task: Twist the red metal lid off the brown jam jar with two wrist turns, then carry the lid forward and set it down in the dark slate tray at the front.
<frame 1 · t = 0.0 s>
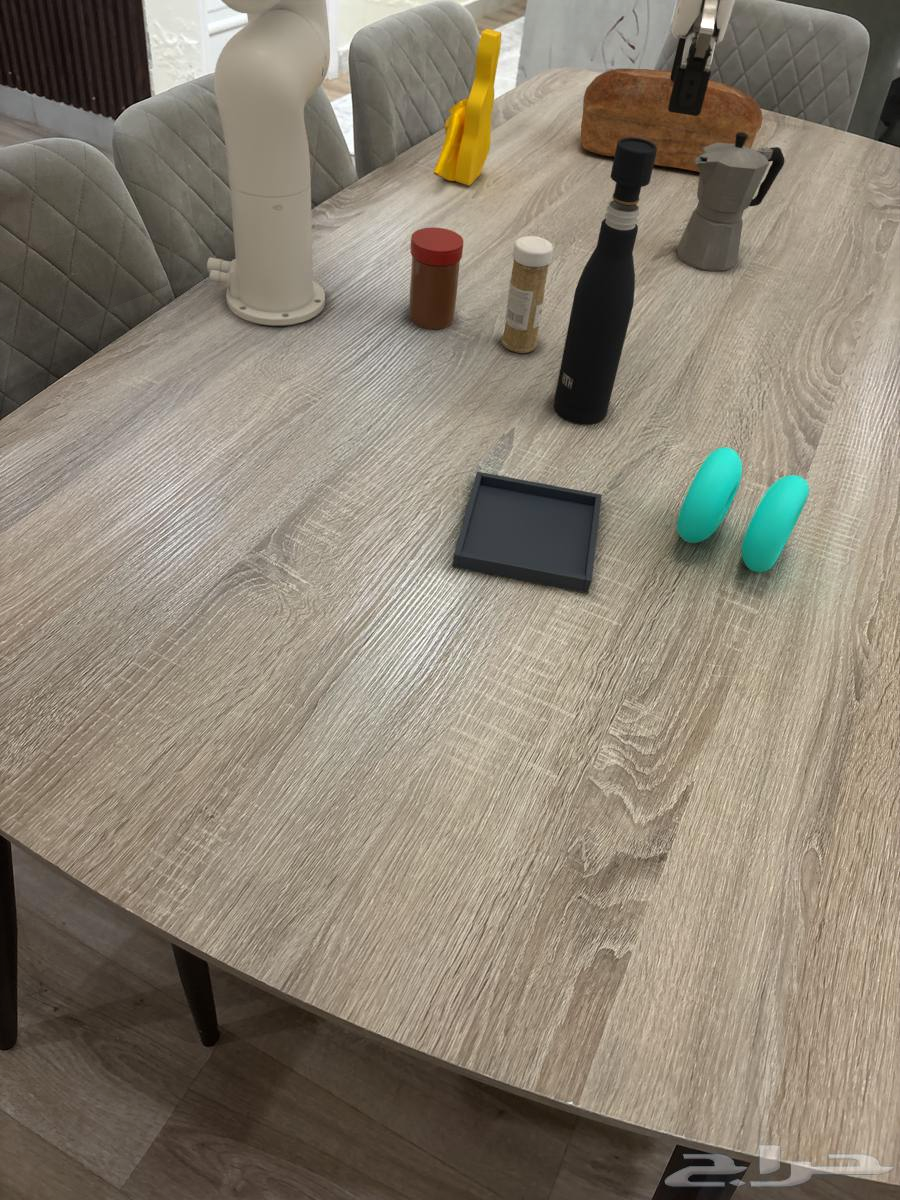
hand: (684, 97, 97), 31 cm above the table, tool pointing down, fingers open, 9 cm apart
spice jar: (518, 346, 120), on the table
slate tray: (528, 535, 94), on the table
bread: (660, 159, 169), on the table
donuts: (726, 548, 96), on the table
black bottle: (579, 410, 111), on the table
jam jar: (431, 317, 123), on the table
coffeepot: (711, 258, 143), on the table
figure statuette: (463, 179, 155), on the table
jar lid: (437, 242, 115), point 10 cm above the table, screwed on, not yet turned
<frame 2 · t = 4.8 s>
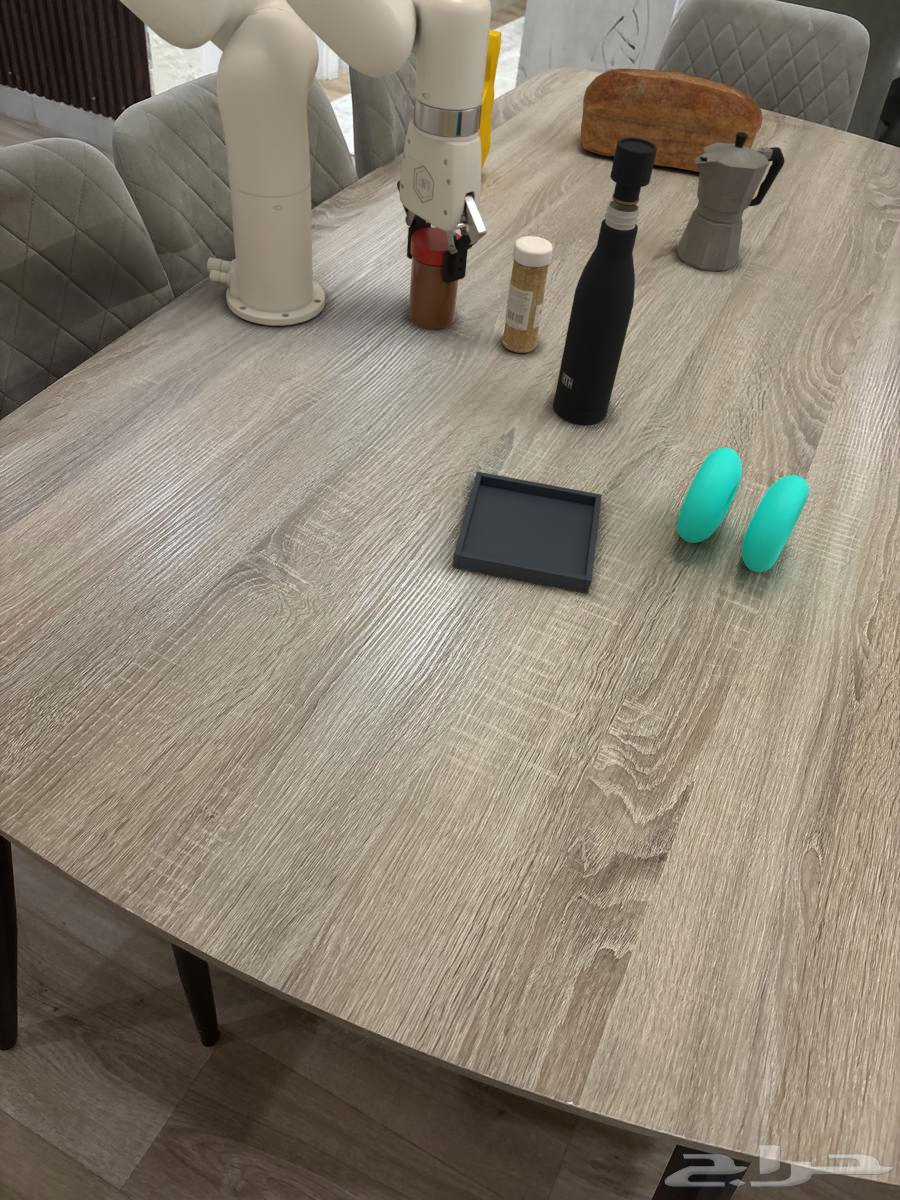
hand: (435, 266, 118), 7 cm above the table, tool pointing down, fingers closed on jar lid, 6 cm apart
jar lid: (437, 242, 115), point 10 cm above the table, screwed on, not yet turned, touching gripper
everything else where it was.
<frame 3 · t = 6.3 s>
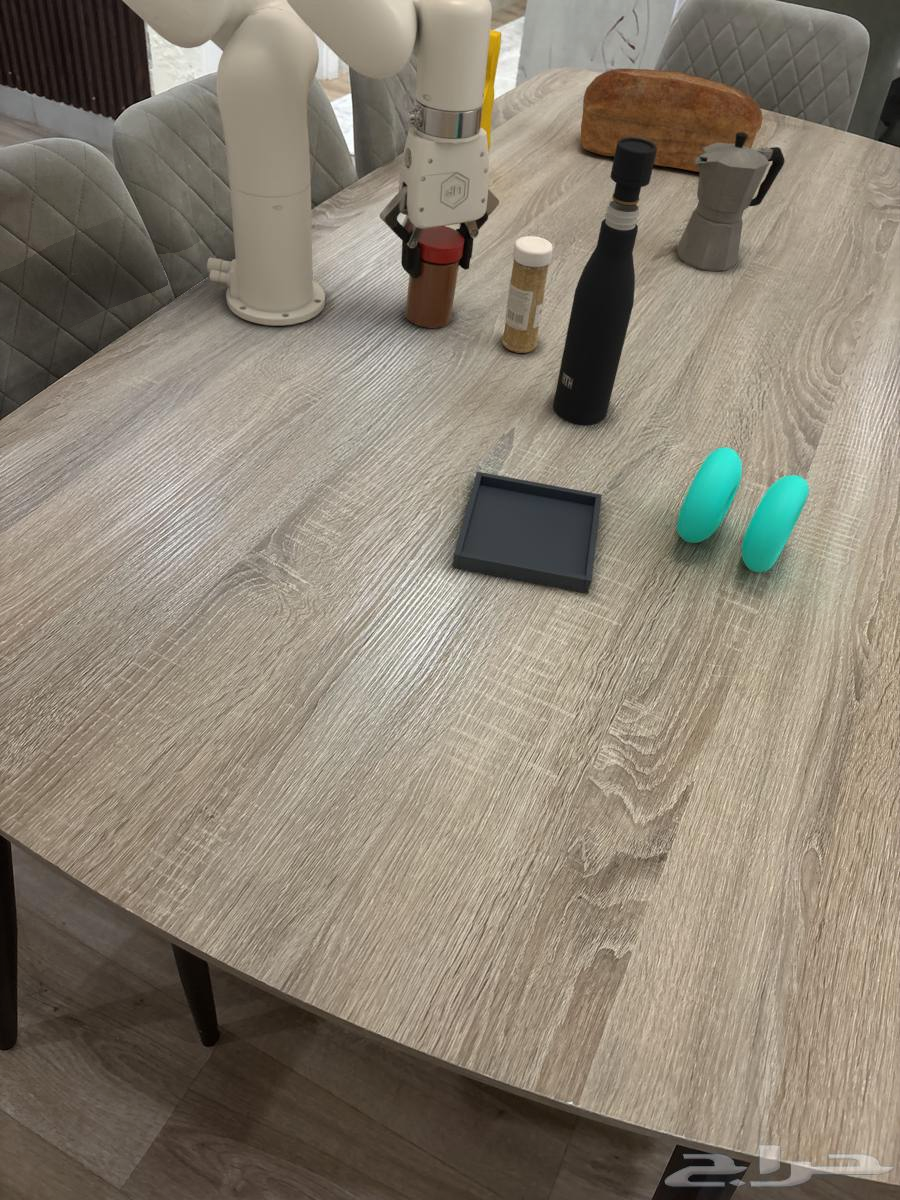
hand: (436, 267, 118), 7 cm above the table, tool pointing down, fingers closed on jar lid, 6 cm apart
jam jar: (428, 316, 123), on the table, touching gripper
jar lid: (438, 239, 115), point 11 cm above the table, turned 79° so far, risen 0.2 cm, still on its thread, touching gripper
everything else where it was.
when the fingers open (6 cm above the table, at t = 7.0 s): jar lid stays where it is, point 10 cm above the table.
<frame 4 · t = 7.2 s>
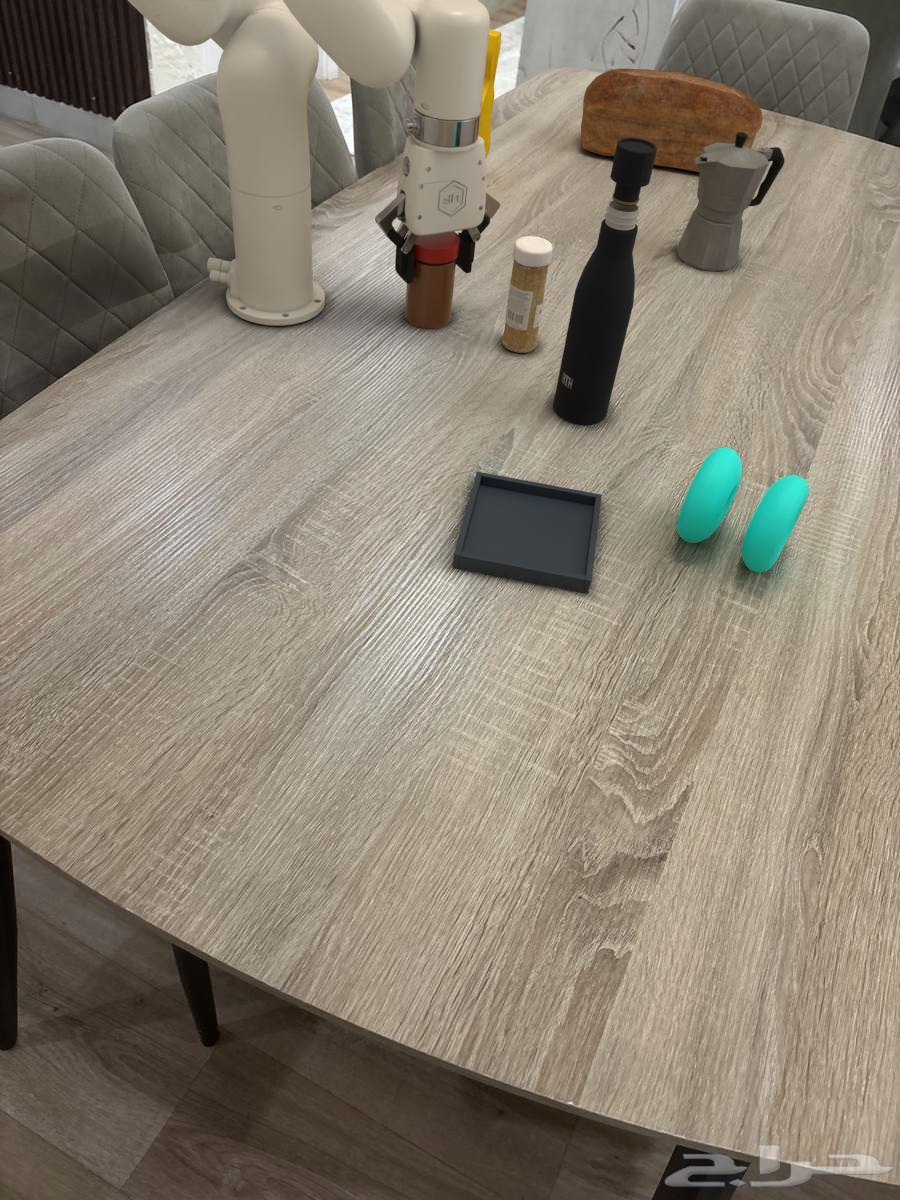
hand: (434, 272, 118), 6 cm above the table, tool pointing down, fingers open, 7 cm apart
jam jar: (427, 317, 123), on the table
jar lid: (433, 239, 115), point 10 cm above the table, turned 79° so far, risen 0.2 cm, still on its thread
everything else where it was.
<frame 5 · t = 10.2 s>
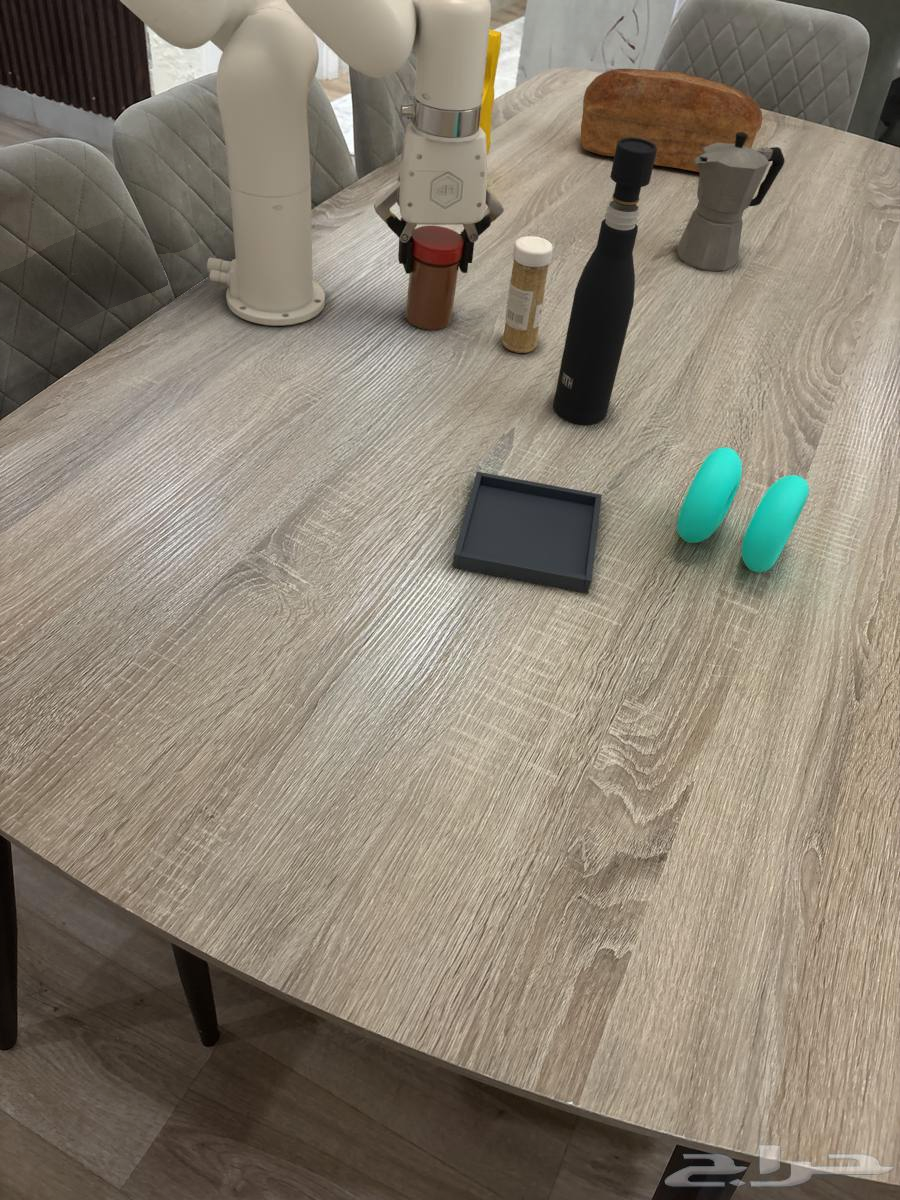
hand: (434, 267, 118), 7 cm above the table, tool pointing down, fingers closed on jar lid, 6 cm apart
jam jar: (428, 317, 122), on the table, touching gripper
jar lid: (437, 240, 115), point 11 cm above the table, off its thread, touching gripper
everything else where it was.
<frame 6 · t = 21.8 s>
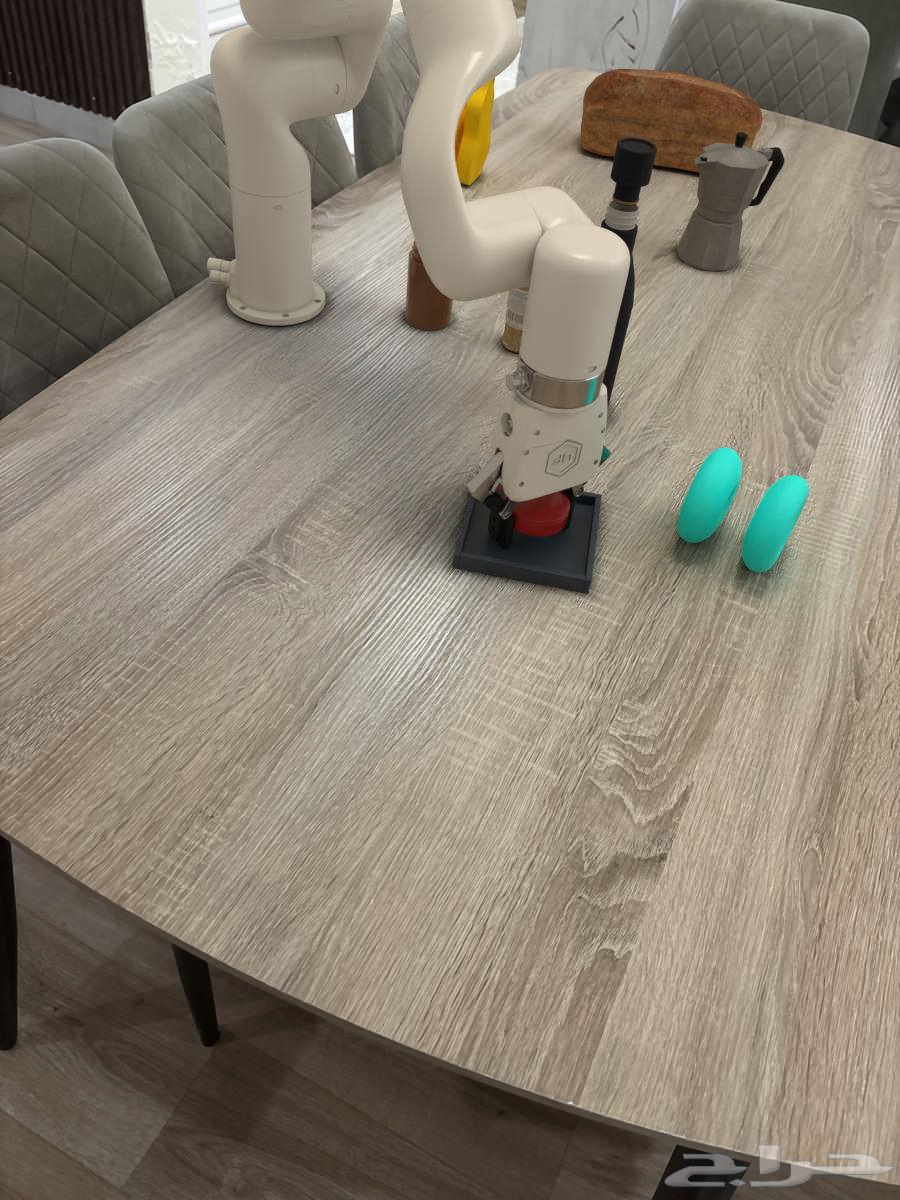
hand: (529, 528, 94), 1 cm above the table, tool pointing down, fingers closed on jar lid, 6 cm apart
jam jar: (428, 318, 123), on the table
jar lid: (536, 503, 91), point 4 cm above the table, off its thread, touching gripper
everything else where it was.
when the fingers open (2 cm above the table, at t = 27.6 s): jar lid drops 3 cm, resting on slate tray.
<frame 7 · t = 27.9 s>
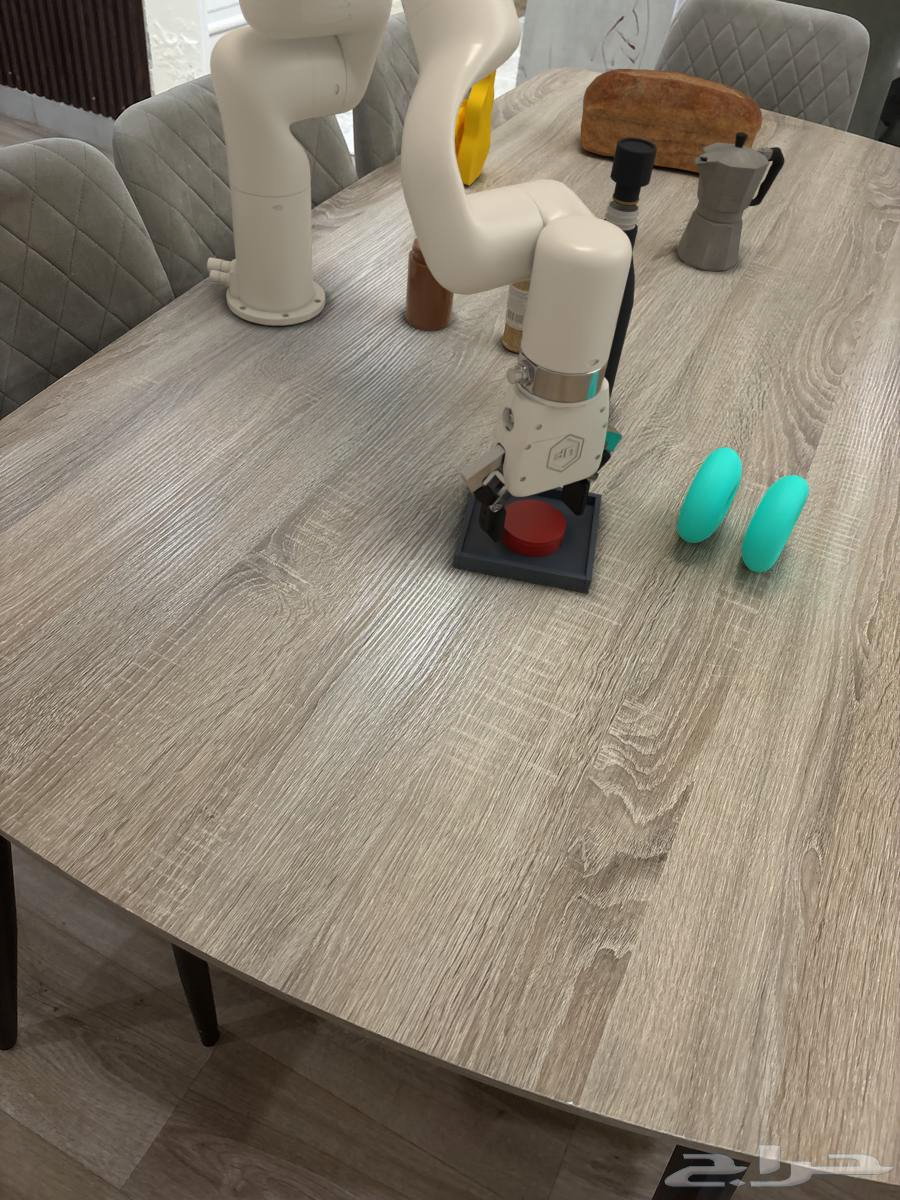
hand: (531, 519, 93), 2 cm above the table, tool pointing down, fingers open, 9 cm apart
jar lid: (533, 523, 93), point 2 cm above the table, off its thread, touching slate tray
everything else where it was.
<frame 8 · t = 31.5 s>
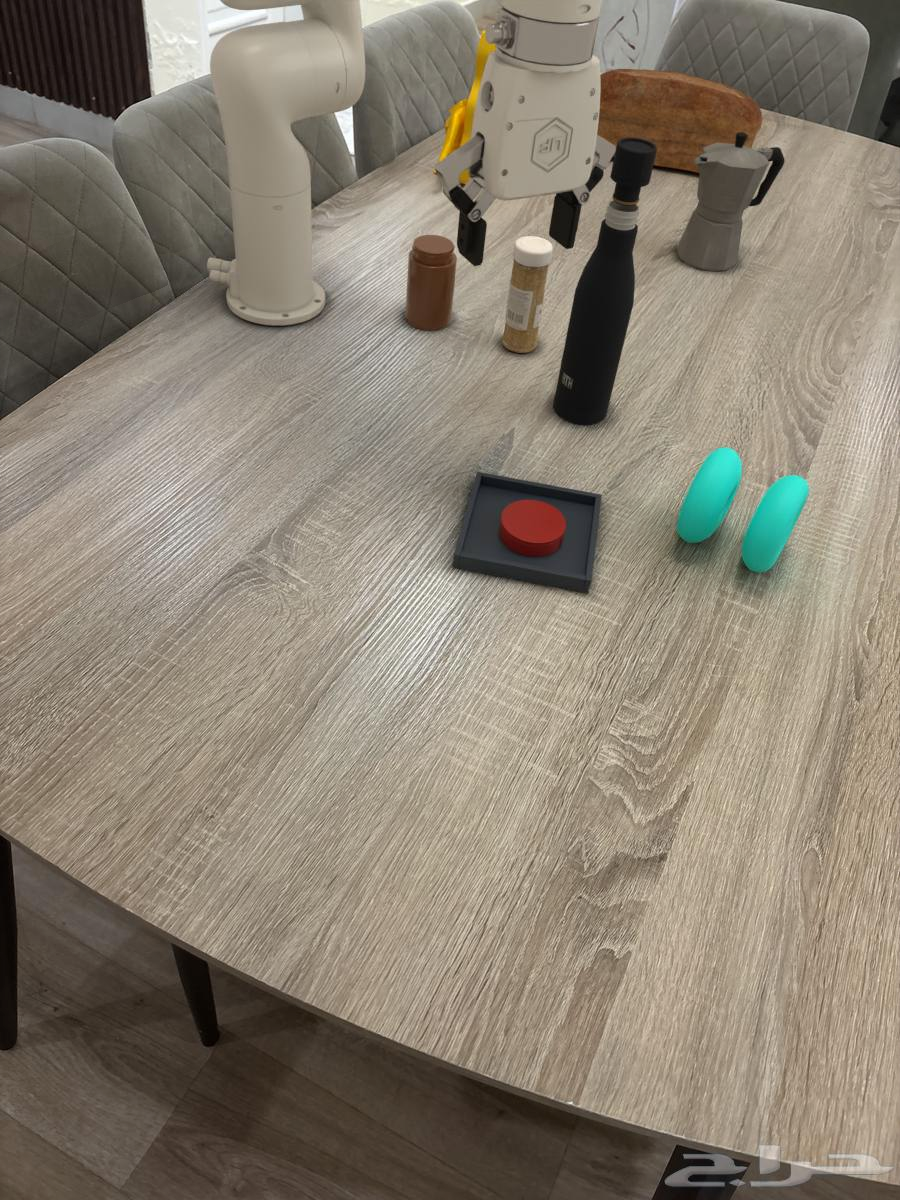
hand: (516, 250, 84), 24 cm above the table, tool pointing down, fingers open, 9 cm apart
nothing on the table moved.
at the end: jar lid came off its thread; jar lid inside the target area in the slate tray (0.4 cm from its centre), point 2.0 cm above the slate tray's base; the gripper is holding nothing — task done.
